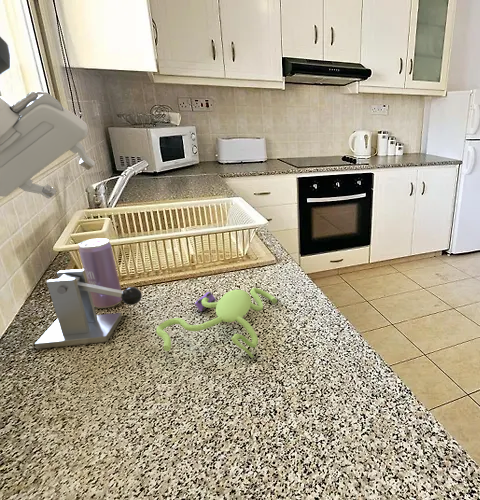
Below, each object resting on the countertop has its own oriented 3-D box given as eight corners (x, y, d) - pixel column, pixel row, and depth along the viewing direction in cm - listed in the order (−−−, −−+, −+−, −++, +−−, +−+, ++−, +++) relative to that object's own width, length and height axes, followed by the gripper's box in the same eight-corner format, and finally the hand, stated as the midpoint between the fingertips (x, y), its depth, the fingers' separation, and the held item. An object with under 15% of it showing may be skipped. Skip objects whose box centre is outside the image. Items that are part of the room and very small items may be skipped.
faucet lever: (141, 301, 78) (145, 286, 77) (137, 309, 75) (140, 294, 74) (62, 285, 73) (65, 269, 72) (54, 294, 70) (56, 277, 69)
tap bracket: (122, 317, 81) (109, 263, 76) (107, 341, 73) (92, 282, 68) (58, 323, 78) (41, 267, 74) (36, 349, 70) (15, 288, 66)
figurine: (147, 365, 67) (141, 338, 65) (206, 294, 91) (203, 273, 89) (249, 369, 66) (246, 343, 64) (281, 297, 91) (280, 276, 89)
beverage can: (129, 299, 88) (116, 239, 83) (106, 311, 83) (91, 248, 78) (110, 294, 90) (96, 236, 85) (87, 306, 85) (70, 244, 79)
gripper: (42, 79, 62) (116, 141, 72) (-51, 150, 63) (34, 201, 73) (35, 92, 57) (114, 156, 67) (-65, 168, 59) (28, 220, 69)
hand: (72, 180), depth 70 cm, fingers open, 8 cm apart
